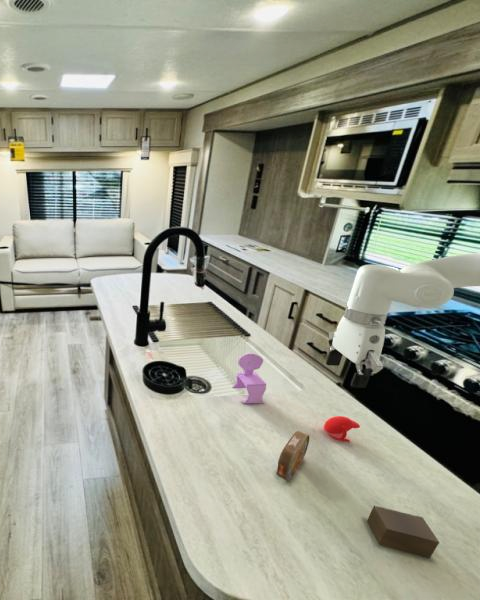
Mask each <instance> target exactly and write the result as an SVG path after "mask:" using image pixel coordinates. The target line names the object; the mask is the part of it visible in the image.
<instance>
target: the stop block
mask: <svg viewBox="0 0 480 600" xmlns="http://www.w3.org/2000/svg"><path fill="white" fill-rule="evenodd" d="M366 522H367V525H368V526H369V529H370V531H371V534H372V535H373V537H374V538H375V540H376V542H377V544H378V546H380V547H384V548H388V549H392V550H396V551H399V552H402V553H407V554H409V555H412V556H413V555H414V556H417V557H421V558H425V559H429V560H430V559H431V557H432V555H433V554H434V552H435V551H436V549H437V547H438V546H439V544H440V541H439V539H438V538H437V537H436V535H435V533H434V532H433V531H432V529H431V527H430V526H429V524H428V523H427V522H426V520H425V519H424V517H422V516H419V515H416V514H415V515H414V514H410V513H406V512H403V511H399V510H394V509H392V508H391V509H390V508H386V507H382V506H377V505H373V507H372V509H371V511H370V514H369V516H368V518H367V520H366Z"/></svg>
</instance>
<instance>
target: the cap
mask: <svg viewBox="0 0 480 600" xmlns="http://www.w3.org/2000/svg"><path fill="white" fill-rule="evenodd" d="M360 427H361V426H360V424H359V423H358V422H356V421H355V420H353V419H351V418H350V417H347V416H344V415H336V416H332V417H330V418H328V419H327V420H326V421H325V423H324V425H323V430H324V431H325V434H326V435H328V436H329V437H330V438H332V439H334V440H336V441H340V442H344V443H351V440H350V439H348V438H347V436H348V432H350V431H351V430H352V429H359V428H360Z"/></svg>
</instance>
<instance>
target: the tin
mask: <svg viewBox="0 0 480 600" xmlns="http://www.w3.org/2000/svg"><path fill="white" fill-rule="evenodd" d="M309 442H310V435H309V434H306V433H304V432H301V431H299V430H297V431H295V432H294V433H293V434H292V436H291V437H290V438H289V440H288V441H287V442H286V444H285V446H284V447H283V449H282V451H281V453H280V455H279V458H278V460H277V468H276V476H278V477H279V478H281V479H283V480H285V481H286V482H287V483H289V482H290V481H291V480H292V478H294V476H295V474H296V473H297V471H298V469H299V467H300V466H301V464H302V463H303V461H304V458H305V456H306V453H307V450H308V447H309V444H310V443H309Z"/></svg>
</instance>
